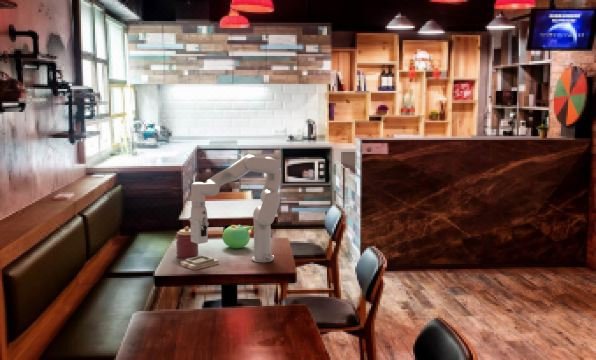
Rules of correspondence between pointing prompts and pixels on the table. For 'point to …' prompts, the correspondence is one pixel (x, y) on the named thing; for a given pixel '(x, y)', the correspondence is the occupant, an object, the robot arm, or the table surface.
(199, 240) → the small box
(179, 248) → the canister
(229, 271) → the table surface
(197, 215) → the robot arm
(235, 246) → the green rounded piece
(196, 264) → the maple base
